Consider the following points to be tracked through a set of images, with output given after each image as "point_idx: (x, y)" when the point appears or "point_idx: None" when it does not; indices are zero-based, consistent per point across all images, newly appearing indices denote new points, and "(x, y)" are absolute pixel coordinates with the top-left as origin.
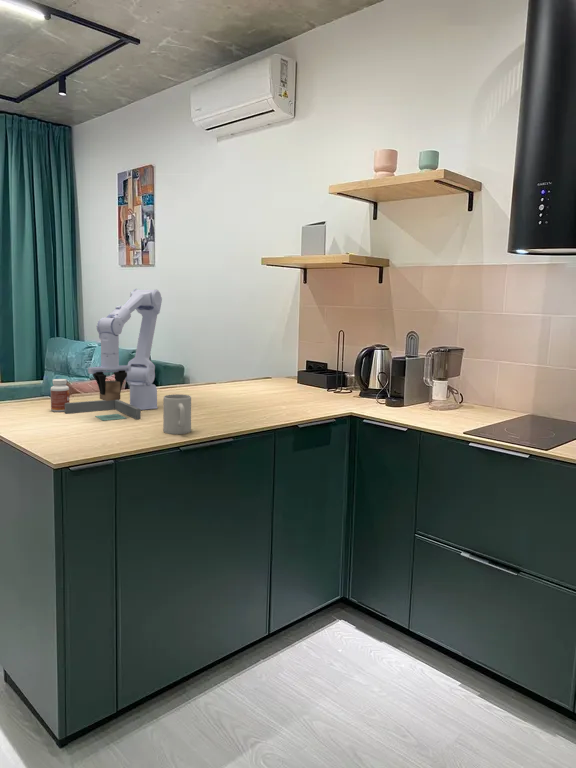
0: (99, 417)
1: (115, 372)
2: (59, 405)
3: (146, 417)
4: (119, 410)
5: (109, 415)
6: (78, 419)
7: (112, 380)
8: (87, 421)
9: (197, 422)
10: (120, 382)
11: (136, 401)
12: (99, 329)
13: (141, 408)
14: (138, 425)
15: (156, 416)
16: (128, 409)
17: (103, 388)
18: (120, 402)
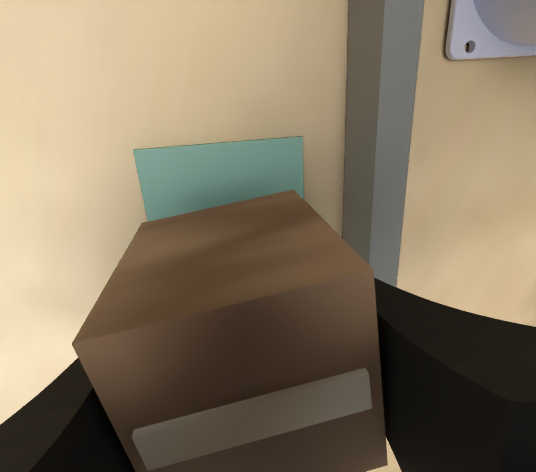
0: (155, 213)
1: (531, 468)
2: None
3: (407, 283)
4: (351, 28)
5: (233, 172)
6: (5, 202)
7: (357, 278)
8: (67, 281)
9: None
10: (394, 439)
11: (533, 11)
12: None
13: (511, 44)
14: None
15: (461, 276)
16: (359, 223)
17: None
18: (381, 46)
